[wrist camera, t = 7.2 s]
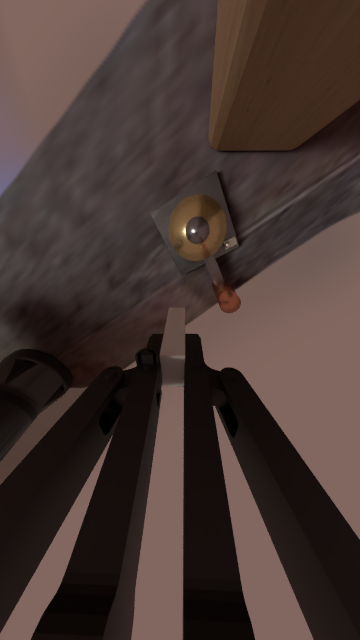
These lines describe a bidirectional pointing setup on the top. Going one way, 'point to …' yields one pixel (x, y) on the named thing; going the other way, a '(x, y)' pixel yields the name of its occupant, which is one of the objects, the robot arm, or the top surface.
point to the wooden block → (282, 71)
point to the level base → (162, 215)
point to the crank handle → (203, 241)
